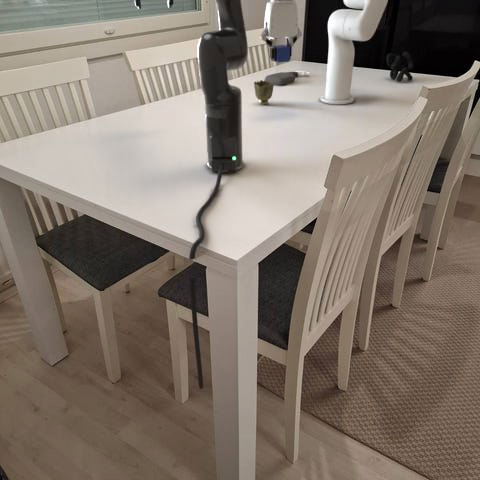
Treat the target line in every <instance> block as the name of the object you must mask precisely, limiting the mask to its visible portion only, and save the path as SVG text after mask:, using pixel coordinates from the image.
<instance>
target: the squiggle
mask: <svg viewBox="0 0 480 480" xmlns="http://www.w3.org/2000/svg"><path fill="white" fill-rule="evenodd" d="M401 57H402V59H401ZM391 59H392V60H391ZM393 60H394V61H393ZM385 61H386V64H387V67H390V68H391V70H390V72H389V78H390V79H391V80H395V79H396V81H397V82H399V83H400V82H402V81H403V79H404V76H406V78H407V80H408V81H412V80H413V79H414V77H413V75H412V74H411V73H410V72H409V71H410V70H412V69H413V68H414V64H413V61H412V57H411V54H410V53H409V52H408V51H403V53H402V54H401V55H396V54H394V53H392V52H390V53H387V55H386V57H385ZM406 62H407V65H408V66H407V67H405V66H404V65H405V64H406ZM400 70H401V71H400Z"/></svg>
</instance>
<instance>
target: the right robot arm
mask: <svg viewBox="0 0 480 480" xmlns="http://www.w3.org/2000/svg"><path fill="white" fill-rule="evenodd" d="M342 1H343V4H344V5H345V6H346V7H348V8H351V9H348V8H347V9H346V8H341V9H337V10H334V11H333V12H332V13H331V14H330V16H329V18H328V21H327V34H328V53H327V66H326V77H325V78H326V79H325V91H324V94H323V95H321V96H320V101H321V102H322V103H326V104H330V105H347V104H351V103H353V102H354V99H355V98H354V96H353V95H351V88H352V82H353V81H352V80H353V70H354V62H355V52H356V51H355V46H354V42H353V41H356V42H366V41H369V40H371V38H373V36H374V35H375V33H376V30H377V28H378V25H379V24H380V21H381V19H382V17H383V14H384V12H385V10H386V7H387V5H388V1H389V0H342ZM265 5H266V6H265V13H264V21H263V22H264V23H263V31H262V32H261V34H260V36H259V39H260V40H261V41H263V42H264V43H265V44H266V45H267V46H268V48H269V58H270V61H272V62H275V61H276V59H277V49H276V48H275V46H276V45H277V40H278V39H280V38H285V45H286V46H288V47H290V60H291V57H292V55H293V54H292V51H293V47H294V44H295V43H296V42H297V40H299V39H300V38H301V37H302V35H303V33H302V31H301V30H300V28H299V15H298V6H297V1H295V0H269V1H267V2H266V4H265ZM268 37H269V38H268ZM275 63H276V62H275Z"/></svg>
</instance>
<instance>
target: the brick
mask: <svg viewBox="0 0 480 480" xmlns="http://www.w3.org/2000/svg"><path fill="white" fill-rule="evenodd" d="M275 48H276V49H277V59H276V61H275V63H277V64H279V63H287V62H290V61H291V59H290V47H288V46H286V44H278V45H277V44H276V45H275Z"/></svg>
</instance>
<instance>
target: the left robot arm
mask: <svg viewBox="0 0 480 480" xmlns="http://www.w3.org/2000/svg"><path fill="white" fill-rule="evenodd" d="M166 2H167V8H172V6H174V0H166ZM213 2H214V4H215V7H216V12H217V18H218V26H219V28H218V29H217V30H211V31H206V32H205V33H203V34H202V35H201V36H200V37H199V39H198V42H197V49H196V51H197V52H196V53H197V54H196V55H197V66H198V74H199V83H200V89H201V92H202V94H203V99H204V100H203V101H204V116H205V117H204V118H205V133H206V134H205V135H206V153H207V168H208V169H209V170H211V172H212V173H217V177H216V182H215V185H214V188H213V190H212V192H211V194H210V195H209V197H208V199H206V202H205V203H204V204H203V205H202V206H201V207H200V208H199V210H198V212H197V214H196V217H195V221H196V225H197V228H198V230H199V236H198V238H197V239H196V240H195V241H194V242H193V244H192V246H191V247H190V251H189V258H188V259H189V260H190V261H191V260H194V259H195V257H196V252H197V249H198V247H199V246H200V245H201V244H202V243H203V241H204V240H205V237H206V233H205V228H204V226H203V223H202V216H203V213H204V212H205V211H206V210H207V208H208V207H209V206H210V205H211V203H212V202H213V200H214V199H215V197H216V195H217V193H218V191H219V189H220V185H221V181H222V176H223V173H237V171H239V170H240V169H242V168H243V166H244V160H243V114H242V113H243V109H242V108H243V106H242V105H243V104H242V103H243V102H242V101H243V100H242V99H243V98H242V96H243V95H242V90H241V88H240V87H239V86H236V85H231V84H230V83H229V79H228V73H229V72H232V71H236V70H239V69H242V68H243V67H244V66H245V64H246V62H247V59H248V54H249V48H248V47H249V46H248V37H247V31H246V25H245V18H244V12H243V5H242V0H213ZM134 6H135V7H136V8H137V9H138V10H142V2H141V0H134ZM189 286H190V287H189V288H190V289H189V290H190V305H191V306H190V308H191V319H192V320H191V321H192V331H193V340H194V341H193V343H194V351H195V360H196V371H197V380H198V389H199V390H203V389H204V377H203V368H202V367H203V366H202V357H201V356H202V355H201V347H200V337H199V336H200V335H199V325H198V323H199V322H198V311H197V310H198V309H197V292H196V291H197V290H196V278H190V279H189Z"/></svg>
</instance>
